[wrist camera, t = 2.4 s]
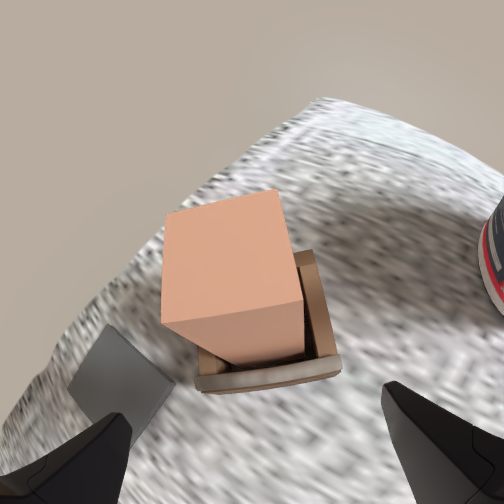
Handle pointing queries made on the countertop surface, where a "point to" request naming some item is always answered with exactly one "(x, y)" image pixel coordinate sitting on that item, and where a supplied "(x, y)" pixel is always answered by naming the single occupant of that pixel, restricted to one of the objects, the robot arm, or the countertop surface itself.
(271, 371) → the open wooden box
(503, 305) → the supplement tub
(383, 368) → the countertop surface
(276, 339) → the block
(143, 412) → the pad
